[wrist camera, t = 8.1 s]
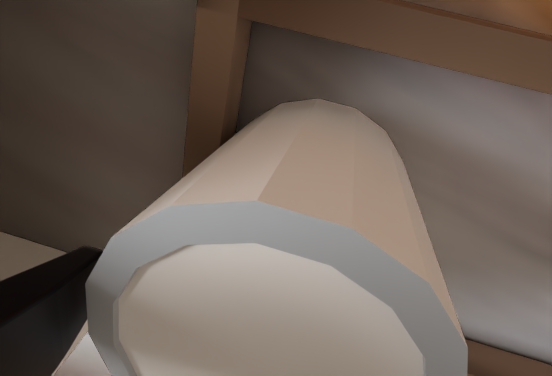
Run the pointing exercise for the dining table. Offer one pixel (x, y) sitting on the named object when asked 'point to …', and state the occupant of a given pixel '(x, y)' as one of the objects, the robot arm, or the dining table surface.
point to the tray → (371, 35)
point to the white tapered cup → (280, 262)
